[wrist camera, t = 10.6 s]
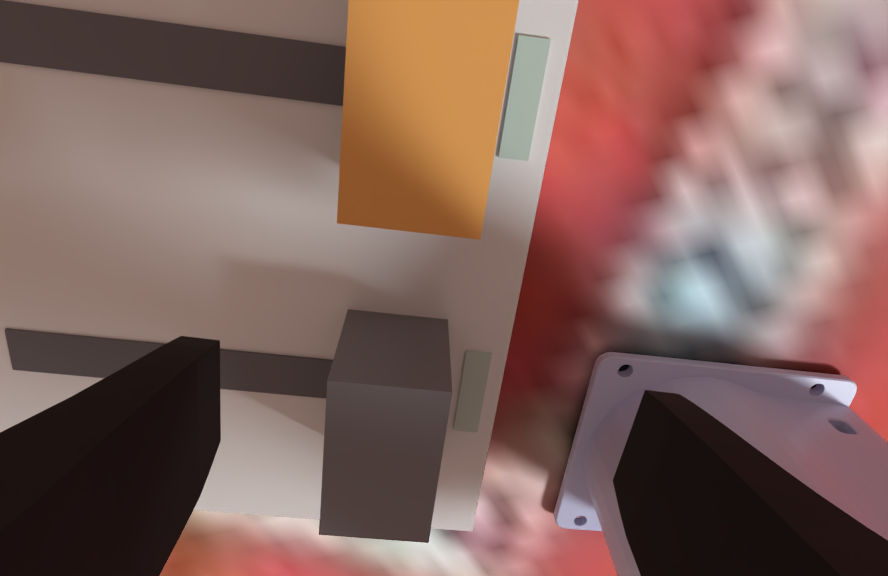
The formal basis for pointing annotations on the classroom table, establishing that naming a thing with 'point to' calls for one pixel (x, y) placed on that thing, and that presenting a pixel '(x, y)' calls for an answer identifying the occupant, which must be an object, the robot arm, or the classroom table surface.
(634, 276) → the classroom table surface
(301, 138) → the breaker panel
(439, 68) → the lever
